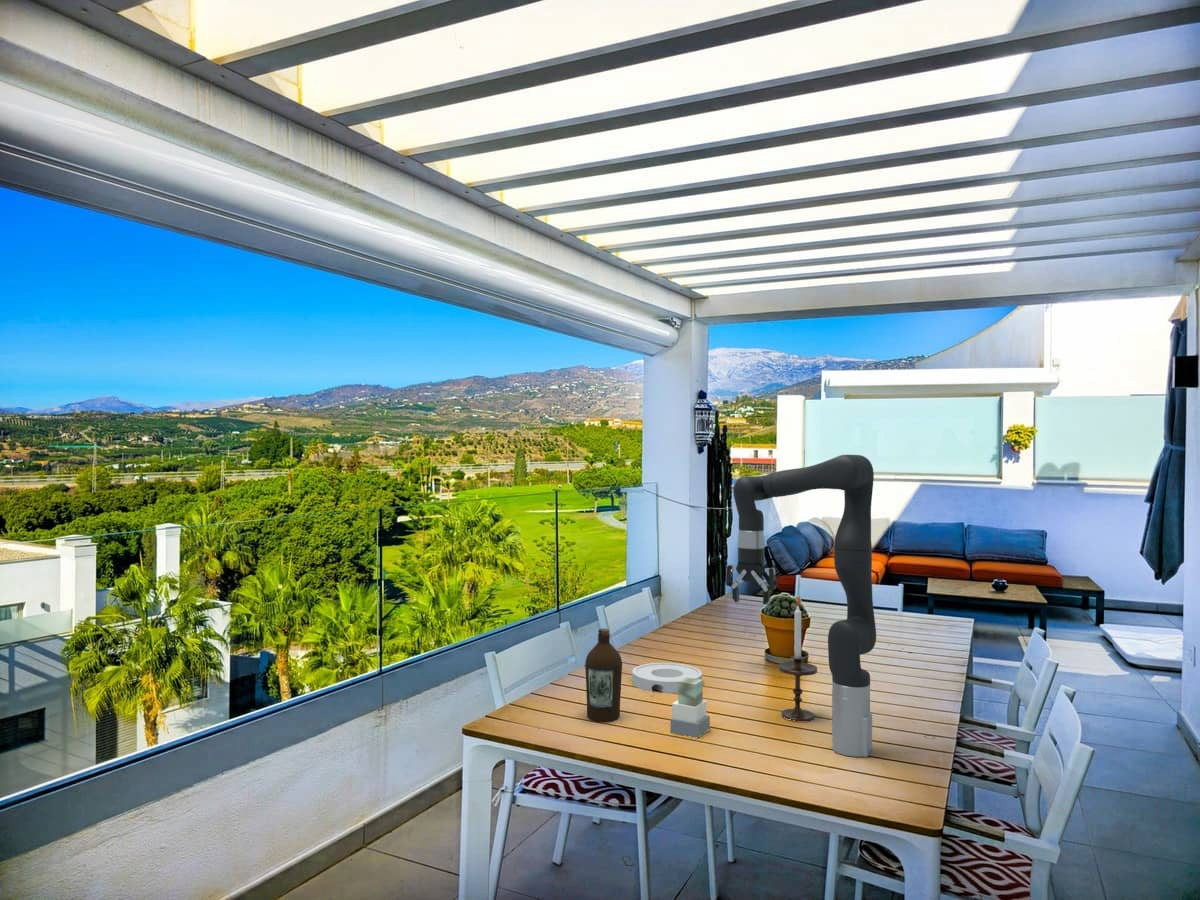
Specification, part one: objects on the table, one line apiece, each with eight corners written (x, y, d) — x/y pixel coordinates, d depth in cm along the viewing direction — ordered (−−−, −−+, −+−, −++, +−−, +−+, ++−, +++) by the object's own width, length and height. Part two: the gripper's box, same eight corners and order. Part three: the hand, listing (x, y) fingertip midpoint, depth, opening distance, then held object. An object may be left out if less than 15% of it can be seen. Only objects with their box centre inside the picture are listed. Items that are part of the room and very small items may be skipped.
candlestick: (802, 709, 230) (802, 591, 231) (825, 720, 220) (825, 597, 220) (770, 713, 226) (771, 593, 227) (792, 725, 216) (793, 599, 217)
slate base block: (709, 730, 212) (709, 716, 212) (697, 739, 205) (697, 724, 205) (683, 725, 216) (683, 711, 216) (670, 734, 209) (670, 719, 209)
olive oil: (589, 709, 228) (590, 624, 229) (625, 712, 226) (625, 626, 226) (580, 721, 218) (581, 632, 218) (617, 724, 216) (618, 634, 216)
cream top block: (706, 715, 212) (706, 700, 213) (696, 722, 206) (696, 707, 206) (682, 711, 216) (682, 696, 216) (672, 718, 210) (672, 703, 210)
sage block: (702, 702, 212) (702, 679, 212) (695, 706, 207) (695, 684, 207) (685, 699, 214) (685, 677, 214) (678, 703, 210) (678, 681, 210)
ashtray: (652, 697, 242) (652, 684, 242) (620, 678, 263) (620, 666, 263) (715, 689, 251) (715, 676, 251) (679, 671, 272) (679, 660, 272)
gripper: (779, 546, 221) (779, 603, 221) (731, 543, 228) (731, 598, 228) (771, 548, 215) (771, 607, 214) (722, 545, 222) (722, 602, 222)
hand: (750, 602), depth 221 cm, fingers open, 8 cm apart
